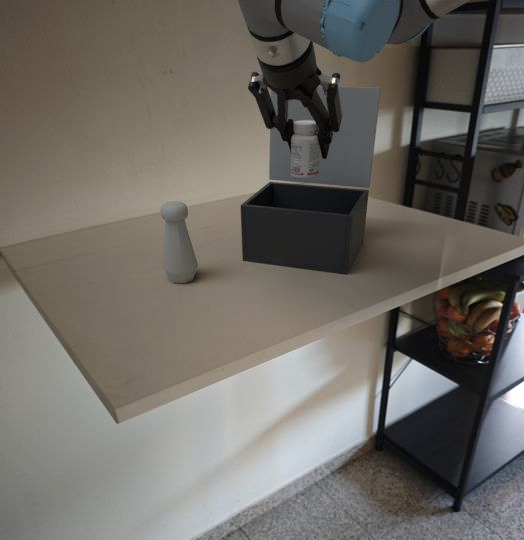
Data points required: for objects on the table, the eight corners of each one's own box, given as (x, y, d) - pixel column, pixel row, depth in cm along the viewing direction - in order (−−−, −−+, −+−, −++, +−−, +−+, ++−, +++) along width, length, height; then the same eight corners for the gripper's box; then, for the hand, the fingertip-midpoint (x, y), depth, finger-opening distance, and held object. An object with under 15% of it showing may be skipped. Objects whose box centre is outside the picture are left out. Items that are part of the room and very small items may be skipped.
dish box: (347, 274, 86) (352, 216, 81) (242, 260, 92) (240, 205, 86) (363, 242, 98) (368, 189, 93) (269, 231, 104) (269, 181, 98)
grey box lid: (380, 87, 84) (381, 87, 85) (270, 85, 90) (272, 85, 90) (368, 187, 92) (369, 187, 93) (268, 179, 98) (270, 178, 98)
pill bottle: (316, 171, 88) (318, 119, 83) (320, 178, 84) (322, 124, 79) (289, 172, 88) (290, 119, 83) (291, 179, 84) (292, 124, 79)
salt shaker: (179, 268, 89) (171, 195, 82) (205, 275, 87) (199, 201, 80) (158, 280, 85) (147, 205, 78) (184, 288, 83) (175, 211, 75)
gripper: (214, 68, 67) (258, 166, 89) (345, 70, 62) (357, 173, 84) (227, 21, 68) (267, 129, 90) (356, 18, 63) (365, 134, 85)
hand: (310, 150), depth 87 cm, fingers closed on pill bottle, 5 cm apart
